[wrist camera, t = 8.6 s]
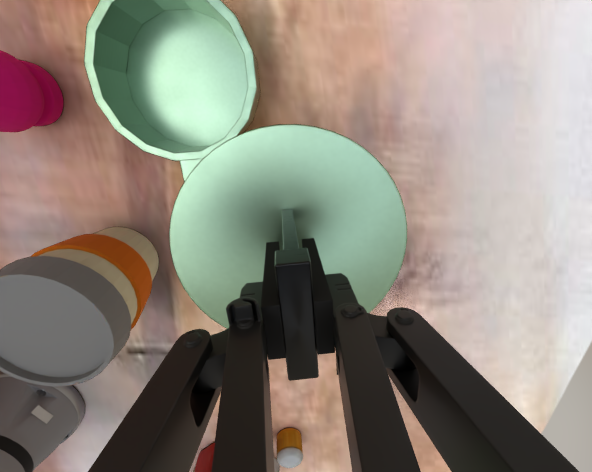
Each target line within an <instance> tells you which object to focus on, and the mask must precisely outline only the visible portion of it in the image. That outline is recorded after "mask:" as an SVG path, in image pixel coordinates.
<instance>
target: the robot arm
mask: <svg viewBox="0 0 592 472" xmlns="http://www.w3.org/2000/svg"><path fill="white" fill-rule="evenodd" d="M302 248H307V249H308V252H309V257H310V261H311V272H312V287H313V303H314V317H315V332H316V346H317V354H327V353H335V349H336V365H337V375H338V376H339V383H340V390H341V396H342V403H343V410H344V417H345V424H346V431H347V437H348V444H349V451H350V458H351V465H352V472H421V471H420V468H419V465H418V462H417V459H416V457H415V454H414V451H413V448H412V445H411V442H410V439H409V436H408V433H407V430H406V427H405V424H404V421H403V418H402V415H401V412H400V409H399V406H398V403H397V400H396V397H395V394H394V391H393V388H392V385H391V382H390V379H389V376H390V378H391V379H392V381H393V383H394V384H395V386H396V387H397V389H398V390H399V392H400V393H401V395H402V396H403V398H404V399H405V401H406V402H407V404H408V406H409V407H410V409H411V410H412V412H413V413H414V415H415V416H416V418H417V419H418V421H419V422H420V424H421V425H422V427H423V429H424V430H425V432H426V433H427V435H428V436H429V438H430V439H431V441H432V442H433V444H434V445H435V447H436V448H437V450H438V452H439V453H440V455H441V456H442V458H443V459H444V461H445V462H446V464H447V465H448V467H449V468H450V470H451V471H452V472H579V471H578V470H577V469H576V468H575V467H574V466H573V465H572V464H571V463H570V462H569V461H568V460H567V459H566V458H565V457H564V456H563V455H562V454H561V453H560V452H559V451H558V450H557V449H556V448H555V447H554V446H553V445H552V444H551V443H549V442H548V441H547V439H546V438H545V437H543V435H541V434H540V433H539V432H538V431H537V430H536V429H535V428H534V427H533V426H532V425H531V424H530V423H529V422H528V421H527V420H526V419H525V418H524V417H523V416H522V415H521V414H520V413H519V412H518V411H517V410H516V409H515V408H514V407H513V406H512V405H511V404H510V403H509V402H508V401H507V400H506V399H505V398H504V397H503V396H502V395H501V394H500V393H499V392H498V391H497V390H496V389H495V388H494V387H493V386H492V385H491V384H490V383H489V382H488V381H487V380H486V379H485V378H484V377H483V376H482V375H480V374H479V373H478V372H477V371H476V370H475V369H474V368H473V367H472V366H471V365H470V364H469V363H468V362H467V361H466V360H465V359H464V358H463V357H462V356H461V355H460V354H459V353H458V352H457V351H456V350H455V349H454V348H453V347H452V346H451V345H450V344H449V343H448V342H447V341H446V340H445V339H444V338H443V337H442V336H441V335H440V334H439V333H438V332H437V331H436V330H435V329H434V328H433V327H432V326H431V325H430V324H429V323H428V322H427V321H426V320H425V319H424V318H423V317H422V316H421V315H419V314H418V313H417V312H415V311H414V310H411V309H408V308H402V307H401V308H394V309H391V310H390V311H389V312H388V313H387V317H385V316H377V315H372V314H369V313H367V311H366V310H365V308H364V307H363V306H361V305H359V303H358V301H357V298H356V296H355V294H354V292H353V289H352V287H351V285H350V282H349V280H348V278H347V277H346V276H345V275H343V274H342V273H336V274H326V275H325V273H324V269H323V266H322V263H321V259H320V256H319V253H318V249H317V246H316V243H315V239H314V238H307V239H302ZM277 250H280V247H279V241H277V242H266V252H265V263H264V275H263V282H253V283H246V284H245V285H244V287H243V288H242V289H241V293H240V298H238V299H235V300H233V301H231V302H230V303H229V304H228V305H227V307H226V312H227V317H228V322H229V328H228V329H226V330H225V331H222V332H220V333H217V334H214V335H211V336H210V334H209V332H208V331H206V330H203V329H196V330H192V331H189V332H186V333H185V334H183V335H182V336H181V337H180V338H179V339H178V340H177V341H176V342H175V344H174V345H173V347H172V348H171V350H170V351H169V353H168V354H167V356H166V357H165V359H164V360H163V362H162V363H161V365H160V366H159V368H158V369H157V371H156V372H155V374H154V375H153V377H152V378H151V379H150V381H149V382H148V384H147V385H146V387H145V388H144V390H143V391H142V393H141V394H140V396H139V397H138V399H137V400H136V402H135V403H134V405H133V406H132V408H131V409H130V411H129V412H128V413H127V415H126V416H125V418H124V419H123V421H122V422H121V424H120V425H119V427H118V428H117V430H116V431H115V433H114V434H113V436H112V437H111V439H110V440H109V442H108V443H107V445H106V446H105V448H104V449H103V450H102V452H101V453H100V455H99V456H98V458H97V459H96V461H95V462H94V464H93V465H92V467H91V468H90V470H89V471H88V472H189V470H190V468H191V465H192V463H193V460H194V458H195V455H196V453H197V450H198V448H199V445H200V443H201V440H202V438H203V435H204V432H205V430H206V427H207V425H208V422H209V420H210V417H211V415H212V412H213V410H214V407H215V405H216V402H217V400H218V397H219V395H220V392H221V397H220V405H219V413H218V421H217V430H216V438H215V446H214V454H213V462H212V470H211V472H275V471H274V453H273V436H272V418H271V401H270V383H269V367H268V361H267V355H268V360H270V359H280V358H286V351H285V343H284V335H283V327H282V318H281V310H280V302H279V298H278V290H277V282H276V273H275V251H277ZM387 373H388V374H387ZM388 375H389V376H388ZM221 388H222V389H221ZM84 413H85V405H84V402H83V399H82V397H81V395H80V394H79V393H78V391H77V390H76V389H75V388H74V387H73V386H72V385H70V386H57V387H56V386H43V385H38V384H33V383H28V382H25V381H22V380H19V379H16V378H14V377H12V376H10V375H8V374H5V373H3V372H2V371H0V472H33V470H34V469H35V468H36V467H37V466H38V465H39V464H40V463H41V462H42V461H43V460H44V459H45V458H47V457H48V456H49V455H50V454H51V453H52V452H53V451H54V450H55V449H56V448H57V447H58V445H59V444H61V443H62V442H64V441H65V440H66V439H67V438H69V437H70V436H71V435H72V434H73V433H74V431H75V430H76V428H77V427H78V425H79V424H80V422H81V421H82V419H83V417H84Z"/></svg>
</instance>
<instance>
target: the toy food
mask: <svg viewBox="0 0 592 472" xmlns="http://www.w3.org/2000/svg"><path fill="white" fill-rule="evenodd" d="M214 446H215V443H213V444H211V445H209V446H208V447H207V448H205V449H204V450H202V451H201V452H200V454H199V456H198V459H197V463H196V468H195V470H194V472H211V470H212V462H213V454H214ZM302 459H303V453H302V439H301V434H300V432H299V431H298V430H296V429H294V428H286V429H283V430H281V431H280V432H279V433H278V435H277V459H275V458H274V471H275V472H279V464H280V465H281V466H283V467H285V468H293V467H296V466H298V465H299V464H300V463H301V461H302Z"/></svg>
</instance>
